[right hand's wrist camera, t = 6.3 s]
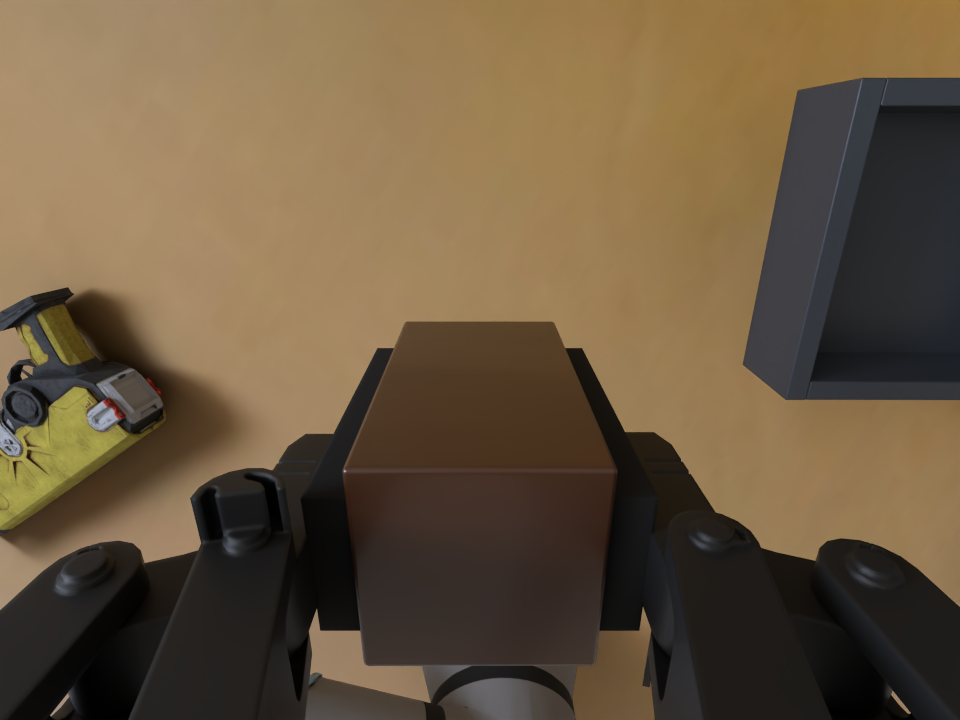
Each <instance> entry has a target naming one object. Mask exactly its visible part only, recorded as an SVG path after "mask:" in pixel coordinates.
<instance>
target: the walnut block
mask: <svg viewBox="0 0 960 720" xmlns="http://www.w3.org/2000/svg"><path fill="white" fill-rule="evenodd" d="M342 474H343V483H344V491H345V500H346V509H347V518H348V526H349V535H350V544H351V553H352V562H353V570H354V579H355V588H356V597H357V606H358V614H359V623H360V632H361V641H362V650H363V658H364V663H365V665H368V666H586V665H594V664H595V662H596V656H597V647H598V639H599V630H600V621H601V613H602V604H603V595H604V587H605V578H606V569H607V561H608V552H609V543H610V535H611V526H612V517H613V509H614V500H615V492H616V483H617V474H618V470H617V467H616V465H615V463H614V460H613V458H612V456H611V454H610V451H609V449H608V447H607V444H606V442H605V440H604V437H603V435H602V433H601V430H600V428H599V426H598V423H597V421H596V419H595V416H594V414H593V412H592V410H591V407H590V405H589V403H588V400H587V398H586V396H585V393H584V391H583V389H582V386H581V384H580V382H579V379H578V377H577V375H576V372H575V370H574V368H573V366H572V363H571V361H570V359H569V356H568V354H567V352H566V349H565V347H564V345H563V342H562V340H561V338H560V335H559V333H558V331H557V328H556V326H555V324H554V323H553V322H406V323H405V324H404V326H403V328H402V331H401V333H400V336H399V338H398V340H397V343H396V345H395V347H394V350H393V352H392V354H391V357H390V359H389V362H388V364H387V366H386V369H385V371H384V373H383V376H382V378H381V380H380V383H379V385H378V387H377V390H376V392H375V395H374V397H373V399H372V402H371V404H370V406H369V409H368V411H367V413H366V416H365V418H364V421H363V423H362V425H361V428H360V430H359V432H358V435H357V437H356V439H355V442H354V444H353V447H352V449H351V451H350V454H349V456H348V458H347V461H346V463H345V465H344V468H343V471H342Z"/></svg>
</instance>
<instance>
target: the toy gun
mask: <svg viewBox="0 0 960 720" xmlns="http://www.w3.org/2000/svg"><path fill="white" fill-rule="evenodd" d="M72 295H74V294H73V293H72V292H71V291H70V290H69V288H68V287H67V288H63V289H59V290H55V291H50V292H46V293H42V294H37V295H33V296H30V297H28V298H26V299H24V300H22V301H20V302H18V303H16V304H14V305H12V306H11V307H9V308H7V309H5V310H3V311H1V312H0V331H3V330H6V329H10V328H13V327H16V330H17V332H18V335H19V337H20V339H21V341H22V342H23V343H24V344H25V345H26V347H27V349H28V352H29V354H30V357H31V358H32V359H26V360H20V361H18V362H17V363H16V364H15V365H14V366H13V367H12V368H11V370H10V372H9V374H8V376H7V379H8V382H9V386H8V388H7V391H5V392H4V394H3V397H2V405H3V408H1V409H0V535H1V534H5V533H6V532H8V531H9V530H11V529H12V528H14V527H15V526H17V525H18V524H20V523H21V522H23V521H24V520H26V519H27V518H29V517H30V516H32V515H34V514H35V513H37V512H38V511H40V510H41V509H43V508H44V507H45V506H47V505H48V504H50V503H51V502H52V501H54V500H55V499H57V498H58V497H60V496H61V495H62V494H64V493H65V492H67V491H68V490H69V489H71V488H72V487H74V486H75V485H77V484H78V483H79V482H81V481H82V480H84V479H85V478H86V477H88V476H89V475H91V474H92V473H94V472H95V471H96V470H98V469H99V468H101V467H102V466H103V465H105V464H106V463H108V462H109V461H111V460H112V459H113V458H115V457H116V456H118V455H119V454H120V453H122V452H123V451H125V450H126V449H128V448H129V447H130V446H132V445H133V444H135V443H136V442H137V441H139V440H140V439H142V438H143V437H145V436H146V435H147V434H149V433H150V432H152V431H153V430H154V429H156V428H157V427H159V426H160V425H162V424H163V423H164V422H165V420H166V412H165V411H164V410H163V407H164V406H163V402H162V401H161V398H160V396H161V395H162V394H163V393H162V392H161V390H160V389H158V388H156V387H154V383H153V381H152V380H151V379H150V378H146V379H144V378H143V376H142V375H141V374H140V373H138V372H137V371H136V370H134V369H132V368H131V366H128V365H124V364H121V363H118V362H100V361H99V359H98V358H97V357H95V356H94V355H93V353H92V352H91V351H90V350H89V348H88V347H87V345H86V343H85V342H84V340H83V339H82V337H81V335H80V334H79V332H78V331H77V329H76V327H75V325H74V323H73V321H72V319H71V317H70V315H69V313H68V311H67V309H66V307H65V301H66V300H67V299H69V298H70V297H71V296H72ZM24 365H29V366H32V367H35V368H33V376H32V375H30V374H29V373H27V372H26V371H24V370H23V369H22V368H23V366H24ZM21 372H23V373H25V374H26V375H27V376H28V378H26V379H23V380H22V378H21V376H20V375H21Z"/></svg>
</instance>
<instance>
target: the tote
mask: <svg viewBox="0 0 960 720" xmlns="http://www.w3.org/2000/svg"><path fill="white" fill-rule="evenodd" d="M743 365H744V366H745V367H746V368H748V369H749V370H750V371H751V372H753V373H754V374H755V375H756V376H757V377H759V378H760V379H761V380H762V381H764V382H765V383H766V384H767V385H768V386H770V387H771V388H772V389H773V390H775V391H776V392H777V393H778V394H779V395H781V396H782V397H783V398H784V399H786V400H805V399H807V400H960V78H860V79H855V80H850V81H844V82H839V83H834V84H828V85H823V86H818V87H813V88H807V89H802V90H798V91H797V96H796V101H795V106H794V111H793V116H792V121H791V126H790V131H789V136H788V141H787V146H786V151H785V156H784V161H783V166H782V171H781V176H780V181H779V186H778V191H777V196H776V201H775V206H774V211H773V216H772V221H771V226H770V231H769V236H768V241H767V246H766V251H765V256H764V261H763V266H762V271H761V276H760V281H759V286H758V291H757V296H756V301H755V306H754V311H753V316H752V321H751V326H750V331H749V336H748V341H747V346H746V351H745V356H744V361H743Z"/></svg>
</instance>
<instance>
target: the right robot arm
mask: <svg viewBox="0 0 960 720" xmlns="http://www.w3.org/2000/svg"><path fill="white" fill-rule="evenodd" d="M565 349H566V352H567V354H568V356H569V359H570V361H571V363H572V366H573V368H574V370H575V372H576V375H577V377H578V379H579V382H580V384H581V386H582V389H583V391H584V393H585V396H586V398H587V400H588V403H589V405H590V407H591V410H592V412H593V414H594V416H595V419H596V421H597V423H598V426H599V428H600V430H601V433H602V435H603V437H604V440H605V442H606V444H607V447H608V449H609V451H610V454H611V456H612V458H613V460H614V463H615V465H616V467H617V470H618V474H617V483H616V492H615V500H614V509H613V517H612V526H611V535H610V543H609V552H608V561H607V569H606V578H605V587H604V595H603V604H602V613H601V621H600V630H599V631H639V628H640V622H641V615H642V609H643V607H644V610H645V613H646V616H647V619H648V621H649V624H650V627H651V636H650V642H649V648H648V655H647V661H646V667H645V673H644V680H643V686H646V687H650V682H651V686H652V695H653V705H654V715H655V720H960V607H959V606H958V605H957V604H956V603H955V602H953V601H952V600H951V599H950V598H949V597H948V596H947V595H946V594H945V593H944V592H942V591H941V590H940V589H939V588H938V587H937V586H936V585H935V584H934V583H933V582H931V581H930V580H929V579H928V578H927V577H926V576H925V575H924V574H923V573H922V572H921V571H919V570H918V569H917V568H916V567H914V566H913V565H912V564H910V563H909V562H907V561H906V560H905V559H903V558H902V557H901V556H899V555H897V554H895V553H893V552H890V551H888V550H886V549H884V548H882V547H880V546H877V545H874V544H870V543H868V542H864V541H860V540H851V539H836V540H831V541H827V542H826V543H825V544H824V545H822V546H821V547H820V548H819V552H818V555H817V558H816V561H813V560H809V559H804V558H799V557H795V556H790V555H786V554H781V553H777V552H773V551H770V550H766V549H763V548H761V547H760V544H759V542H758V541H757V540H756V538H755V537H754V535H753V534H752V532H751V531H750V530H748V529H747V528H746V527H744V526H743V525H742V524H740V523H739V522H738V521H736V520H734V519H731V518H729V517H727V516H725V515H722V514H719V513H715V511H714V509H713V508H712V506H711V505H710V503H709V502H708V500H707V499H706V497H705V496H704V494H703V492H702V491H701V489H700V488H699V486H698V485H697V483H696V482H695V480H694V479H693V477H692V476H691V474H689V471H688V469H687V468H686V466H685V465H684V463H683V462H681V459H680V457H679V456H678V454H677V452H676V451H675V449H674V448H673V446H672V445H671V444H670V443H668V442H667V441H666V440H664V439H663V438H661V437H660V436H658V435H657V434H656V433H654V432H625V431H624V429H623V427H622V425H621V423H620V421H619V420H618V418H617V416H616V414H615V412H614V410H613V408H612V406H611V404H610V402H609V400H608V398H607V396H606V394H605V392H604V390H603V388H602V386H601V384H600V383H599V381H598V379H597V377H596V375H595V373H594V371H593V369H592V367H591V365H590V363H589V361H588V359H587V357H586V355H585V353H584V351H583V349H582V348H565ZM393 350H394V348H377V350H376V352H375V354H374V356H373V358H372V360H371V362H370V364H369V366H368V368H367V370H366V372H365V374H364V376H363V378H362V380H361V382H360V384H359V385H358V387H357V389H356V391H355V393H354V395H353V397H352V399H351V401H350V403H349V405H348V407H347V409H346V411H345V413H344V415H343V417H342V419H341V421H340V423H339V424H338V426H337V428H336V430H335V432H334V434H305V435H304V436H302V437H301V438H299V439H298V440H297V441H295V442H294V443H292V444H291V445H290V446H288V448H287V449H286V451H285V452H284V454H283V455H282V457H281V459H280V460H279V464H277V465H276V466H275V468H274V469H273V471H272V470H268V469H264V468H247V469H242V470H237V471H232V472H228V473H226V474H223V475H221V476H218V477H216V478H213V479H211V480H210V481H208V482H207V483H205V484H204V485H202V486H201V487H199V488H198V490H197V491H196V492H195V493H194V494H193V496H192V497H191V498H190V499H191V503H192V507H193V511H194V515H195V519H196V523H197V527H198V532H199V536H200V540H201V545H200V548H199V550H198V551H195V552H191V553H188V554H184V555H180V556H175V557H171V558H166V559H162V560H157V561H152V562H148V563H144V560H143V557H142V553H141V550H140V549H138V548H137V547H136V546H135V545H134V544H133V543H128V542H122V541H113V542H103V543H98V544H94V545H91V546H87V547H84V548H81V549H79V550H77V551H75V552H73V553H71V554H69V555H67V556H65V557H63V558H61V559H59V560H58V561H56V562H55V563H54V564H52V565H51V566H49V567H48V568H47V569H45V570H44V571H43V572H42V573H40V574H39V575H38V576H37V577H36V578H35V579H34V580H33V581H32V582H31V583H30V584H28V585H27V586H26V587H25V588H24V589H23V590H22V591H21V592H20V593H19V594H18V595H17V596H15V597H14V598H13V599H12V600H11V601H10V602H9V603H8V604H7V605H6V606H5V607H3V608H2V609H1V610H0V720H576V718H575V713H574V707H573V700H572V695H573V689H574V683H575V677H576V670H577V666H422V667H423V671H424V676H425V680H426V684H427V688H428V692H429V697H430V701H431V703H427V702H424V701H420V700H415V699H411V698H406V697H402V696H398V695H394V694H390V693H385V692H381V691H377V690H373V689H369V688H364V687H360V686H356V685H352V684H347V683H343V682H339V681H335V680H331V679H326V678H322V674H320V673H313V674H312V675H310V668H311V658H312V650H311V642H310V636H309V629H310V626H311V623H312V620H313V617H314V615H315V612H316V609H317V611H318V618H319V624H320V631H360V623H359V614H358V606H357V597H356V588H355V579H354V570H353V562H352V553H351V544H350V535H349V526H348V518H347V509H346V500H345V491H344V483H343V474H342V471H343V468H344V465H345V463H346V461H347V458H348V456H349V454H350V451H351V449H352V447H353V444H354V442H355V439H356V437H357V435H358V432H359V430H360V428H361V425H362V423H363V421H364V418H365V416H366V413H367V411H368V409H369V406H370V404H371V402H372V399H373V397H374V395H375V392H376V390H377V387H378V385H379V383H380V380H381V378H382V376H383V373H384V371H385V369H386V366H387V364H388V362H389V359H390V357H391V354H392V352H393ZM892 691H894V692H895V694H896V695H897V696H898V697H899V699H900V700H901V701H902V702H903V704H904V705H905V706H906V707H907V709H908V710H909V711H910V712H911V714H908V713H906V712H905V711H904V710H903V709H902V708H901V707H900V705H899V704H898V703H897V702H896V701H895V699H894V698H893V697H892V696H891V693H892ZM67 693H68V694H69V698H68V699H67V701H66V702H65V703H64V704H63V706H62V707H61V708H60V709H59V710H58V711H57V712H56V713H55V714H54V715H52V716H50V715H51V713H52V712H53V711H54V710H55V708H56V707H57V706H58V705H59V703H60V702H61V701H62V700H63V698H64V697H65V696H66V695H67Z"/></svg>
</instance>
